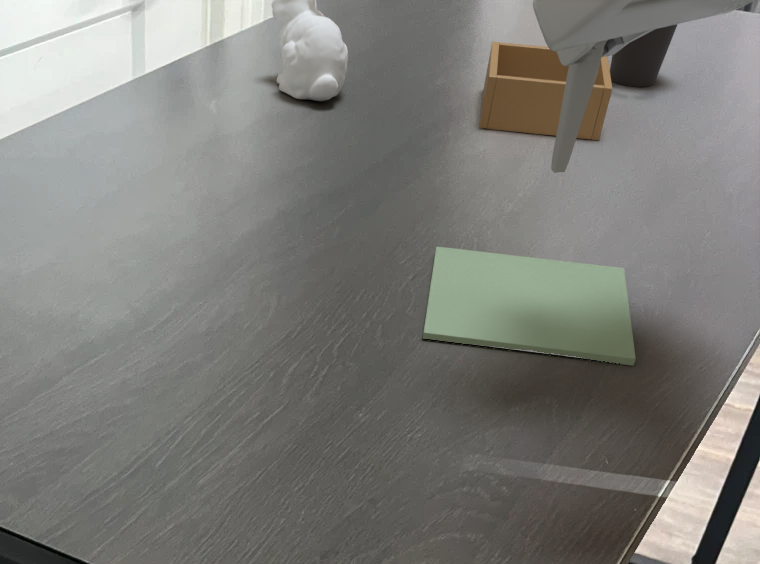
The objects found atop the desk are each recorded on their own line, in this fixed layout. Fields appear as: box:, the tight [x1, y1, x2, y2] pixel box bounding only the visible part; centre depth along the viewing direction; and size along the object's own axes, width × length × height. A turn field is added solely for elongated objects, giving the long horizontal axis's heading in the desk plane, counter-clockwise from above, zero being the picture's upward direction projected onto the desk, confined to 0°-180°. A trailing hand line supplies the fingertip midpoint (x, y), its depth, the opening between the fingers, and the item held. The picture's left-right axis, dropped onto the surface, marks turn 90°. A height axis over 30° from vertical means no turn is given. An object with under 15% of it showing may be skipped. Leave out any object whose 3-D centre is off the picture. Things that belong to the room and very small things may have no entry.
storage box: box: [479, 41, 613, 141], centre depth 119 cm, size 13×13×5 cm
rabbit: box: [271, 0, 349, 102], centre depth 120 cm, size 12×9×12 cm
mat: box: [422, 246, 636, 367], centre depth 89 cm, size 16×16×1 cm
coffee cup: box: [609, 24, 679, 88], centre depth 127 cm, size 8×8×10 cm
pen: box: [550, 40, 607, 174], centre depth 77 cm, size 2×3×14 cm
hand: (582, 50), depth 77 cm, fingers closed on pen, 2 cm apart
